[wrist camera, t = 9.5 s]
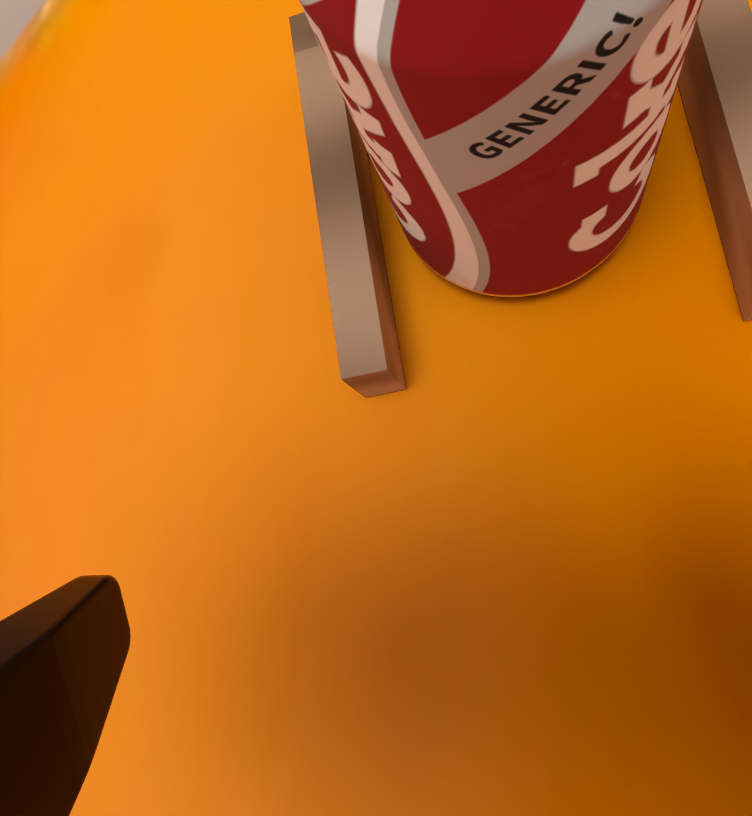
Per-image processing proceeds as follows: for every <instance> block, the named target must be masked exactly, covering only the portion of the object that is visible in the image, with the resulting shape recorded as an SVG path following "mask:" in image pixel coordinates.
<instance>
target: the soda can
mask: <svg viewBox="0 0 752 816" xmlns="http://www.w3.org/2000/svg"><path fill="white" fill-rule="evenodd" d="M299 1H300V3H301V5H302V8H303V10H304V12H305V14H306V17H307V19H308V21H309V23H310V25H311V28H312V30H313V32H314V34H315V36H316V39H317V41H318V43H319V45H320V47H321V50H322V52H323V54H324V56H325V58H326V61H327V63H328V65H329V67H330V70H331V72H332V74H333V76H334V78H335V81H336V83H337V85H338V87H339V89H340V92H341V94H342V96H343V98H344V100H345V103H346V105H347V107H348V109H349V111H350V114H351V116H352V118H353V120H354V123H355V125H356V127H357V129H358V131H359V134H360V136H361V138H362V140H363V142H364V145H365V147H366V149H367V151H368V153H369V156H370V158H371V160H372V162H373V164H374V167H375V169H376V171H377V173H378V176H379V178H380V180H381V182H382V184H383V187H384V189H385V191H386V193H387V195H388V198H389V200H390V202H391V204H392V206H393V209H394V211H395V213H396V215H397V217H398V220H399V222H400V224H401V226H402V229H403V231H404V233H405V235H406V237H407V239H408V241H409V243H410V244H411V246H412V247H413V249H414V250H415V252H416V253H417V255H418V256H419V257H420V258H421V259H422V260H423V262H424V263H425V264H426V265H427V266H429V267H430V268H431V269H432V270H433V271H434V272H436V273H437V274H438V275H440V276H441V277H442V278H444V279H446V280H447V281H449V282H451V283H453V284H455V285H457V286H459V287H461V288H464V289H467V290H469V291H472V292H476V293H480V294H484V295H490V296H496V297H523V296H531V295H537V294H541V293H546V292H549V291H552V290H555V289H558V288H561V287H563V286H565V285H568V284H570V283H572V282H574V281H576V280H578V279H580V278H581V277H583V276H584V275H586V274H587V273H589V272H591V271H592V270H593V269H595V268H596V267H597V266H598V265H600V264H601V263H602V262H603V261H604V260H605V259H606V258H607V257H608V256H610V255H611V254H612V252H613V251H614V250H615V249H616V248H617V247H618V245H619V244H620V243H621V242H622V240H623V239H624V237H625V236H626V234H627V233H628V231H629V229H630V227H631V226H632V224H633V222H634V220H635V217H636V215H637V213H638V210H639V207H640V204H641V201H642V197H643V194H644V191H645V188H646V184H647V181H648V178H649V174H650V171H651V168H652V165H653V161H654V158H655V155H656V152H657V148H658V145H659V142H660V139H661V135H662V132H663V129H664V126H665V122H666V119H667V116H668V112H669V109H670V106H671V103H672V99H673V96H674V93H675V90H676V86H677V83H678V80H679V77H680V73H681V70H682V67H683V63H684V60H685V57H686V54H687V50H688V47H689V44H690V41H691V37H692V34H693V31H694V28H695V24H696V21H697V18H698V14H699V11H700V8H701V5H702V1H703V0H299Z"/></svg>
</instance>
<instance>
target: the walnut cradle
mask: <svg viewBox="0 0 752 816" xmlns="http://www.w3.org/2000/svg"><path fill="white" fill-rule="evenodd" d="M289 21H290V28H291V35H292V42H293V48H294V55H295V62H296V69H297V76H298V83H299V90H300V97H301V104H302V111H303V117H304V124H305V131H306V138H307V145H308V152H309V159H310V166H311V173H312V180H313V187H314V193H315V200H316V207H317V214H318V221H319V228H320V235H321V242H322V249H323V256H324V263H325V269H326V276H327V283H328V290H329V297H330V304H331V311H332V318H333V325H334V332H335V338H336V345H337V352H338V359H339V366H340V373H341V379H342V380H343V381H344V382H346V383H347V384H348V385H350V386H351V387H352V388H354V389H355V390H356V391H357V392H359V393H360V394H361V395H363V396H364V397H365V398H366V397H371V396H376V395H381V394H386V393H391V392H396V391H401V390H406V386H405V380H404V374H403V368H402V362H401V356H400V350H399V344H398V338H397V332H396V326H395V320H394V314H393V307H392V301H391V295H390V289H389V283H388V277H387V271H386V265H385V259H384V253H383V247H382V241H381V235H380V229H379V222H378V216H377V210H376V204H375V198H374V192H373V186H372V180H371V174H370V168H369V162H368V156H367V150H366V147H365V145H364V142H363V140H362V138H361V136H360V134H359V131H358V129H357V127H356V125H355V123H354V120H353V118H352V116H351V114H350V111H349V109H348V107H347V105H346V103H345V100H344V98H343V96H342V94H341V92H340V89H339V87H338V85H337V83H336V81H335V78H334V76H333V74H332V72H331V70H330V67H329V65H328V63H327V61H326V58H325V56H324V54H323V52H322V50H321V47H320V45H319V43H318V41H317V39H316V36H315V34H314V32H313V30H312V28H311V25H310V23H309V21H308V19H307V17H306V14H305V12H304V13H301V14H297V15H294V16H291V17H289ZM678 86H679V90H680V94H681V97H682V101H683V104H684V108H685V112H686V115H687V119H688V122H689V126H690V130H691V133H692V137H693V140H694V144H695V148H696V151H697V155H698V159H699V162H700V166H701V169H702V173H703V177H704V180H705V184H706V187H707V191H708V195H709V198H710V202H711V205H712V209H713V213H714V216H715V220H716V224H717V227H718V231H719V234H720V238H721V242H722V245H723V249H724V252H725V256H726V260H727V263H728V267H729V271H730V274H731V278H732V281H733V285H734V289H735V292H736V296H737V299H738V303H739V307H740V310H741V314H742V317H743V321H747V320H752V13H751V10H750V6H749V3H748V0H703V1H702V5H701V8H700V11H699V14H698V18H697V21H696V24H695V28H694V31H693V34H692V37H691V41H690V44H689V47H688V50H687V54H686V57H685V60H684V63H683V67H682V70H681V73H680V77H679V80H678Z"/></svg>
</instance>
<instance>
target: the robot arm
mask: <svg viewBox="0 0 752 816" xmlns="http://www.w3.org/2000/svg"><path fill="white" fill-rule="evenodd" d="M130 637H131V636H130V627H129V623H128V619H127V615H126V610H125V606H124V602H123V598H122V594H121V590H120V586H119V584H118V582H117V580H116V579H115V578H114V577H112V576H111V575H90V576H80V577H77V578H76V579H74V580H72V581H70V582H68V583H67V584H65V585H63V586H61V587H60V588H58V589H56V590H54V591H53V592H51V593H49V594H47V595H45V596H44V597H42V598H40V599H38V600H37V601H35V602H33V603H31V604H30V605H28V606H26V607H24V608H23V609H21V610H19V611H17V612H15V613H14V614H12V615H10V616H8V617H7V618H5V619H3V620H1V621H0V816H69V814H70V812H71V810H72V808H73V805H74V803H75V801H76V799H77V796H78V794H79V792H80V790H81V787H82V785H83V782H84V780H85V778H86V775H87V773H88V770H89V768H90V765H91V763H92V760H93V757H94V754H95V752H96V749H97V746H98V743H99V740H100V737H101V734H102V730H103V727H104V724H105V721H106V718H107V715H108V712H109V709H110V706H111V703H112V700H113V697H114V694H115V691H116V687H117V684H118V681H119V678H120V675H121V672H122V669H123V666H124V663H125V660H126V657H127V654H128V650H129V646H130Z"/></svg>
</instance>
